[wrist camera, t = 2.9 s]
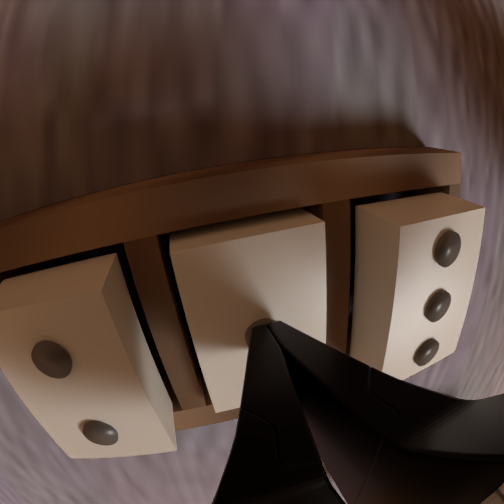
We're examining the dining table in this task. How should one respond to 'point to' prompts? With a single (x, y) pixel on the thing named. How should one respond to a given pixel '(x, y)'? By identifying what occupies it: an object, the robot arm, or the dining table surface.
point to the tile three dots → (413, 279)
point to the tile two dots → (84, 360)
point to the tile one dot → (248, 288)
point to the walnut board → (218, 210)
